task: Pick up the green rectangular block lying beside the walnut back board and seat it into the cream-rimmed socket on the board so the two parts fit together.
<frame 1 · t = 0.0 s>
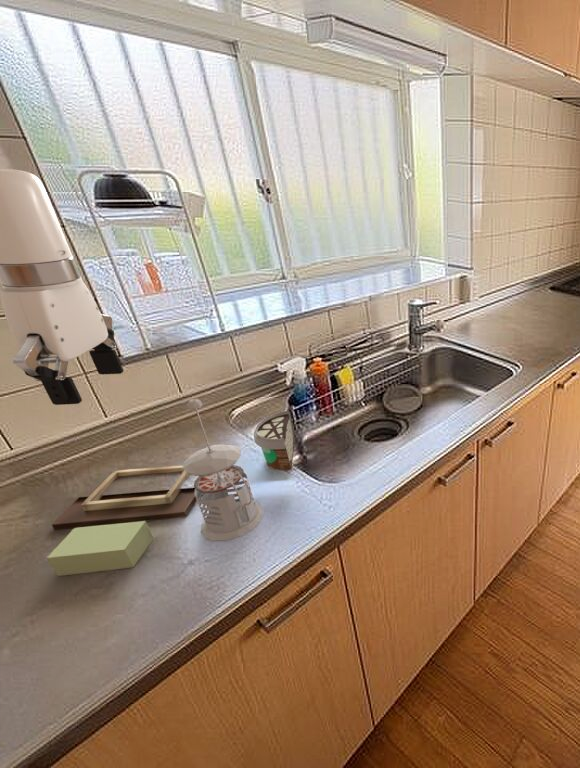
hand: (91, 387, 63), 27 cm above the counter, tool pointing down, fingers open, 9 cm apart
french press: (236, 522, 76), on the counter
food container: (279, 465, 90), on the counter
back board: (145, 494, 80), on the counter
green rectangular block: (108, 556, 68), on the counter
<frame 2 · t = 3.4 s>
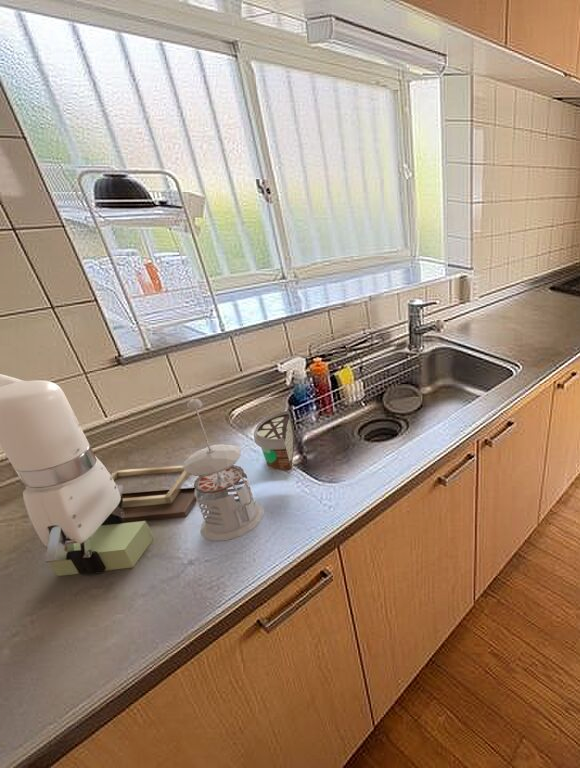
hand: (107, 553, 68), 1 cm above the counter, tool pointing down, fingers closed on green rectangular block, 6 cm apart
green rectangular block: (108, 556, 68), on the counter, touching gripper
everything else where it was.
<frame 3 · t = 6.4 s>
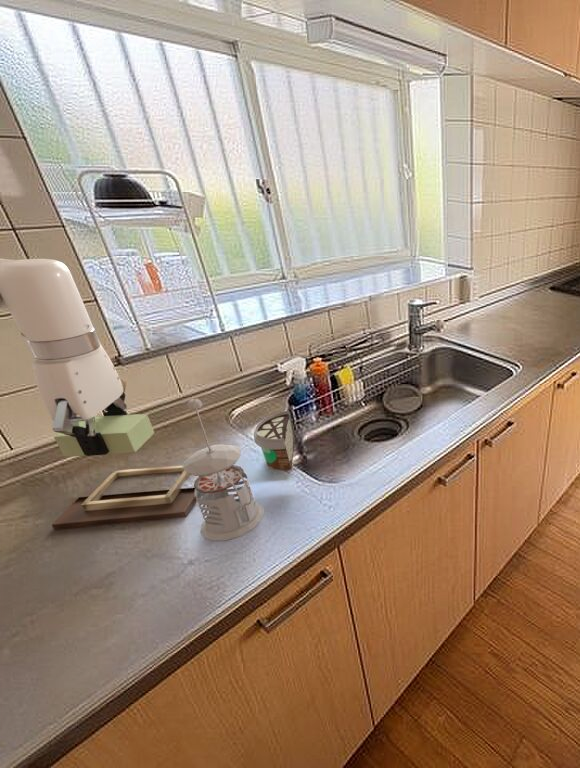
hand: (110, 441, 72), 14 cm above the counter, tool pointing down, fingers closed on green rectangular block, 6 cm apart
green rectangular block: (111, 444, 72), point 14 cm above the counter, touching gripper
everything else where it was.
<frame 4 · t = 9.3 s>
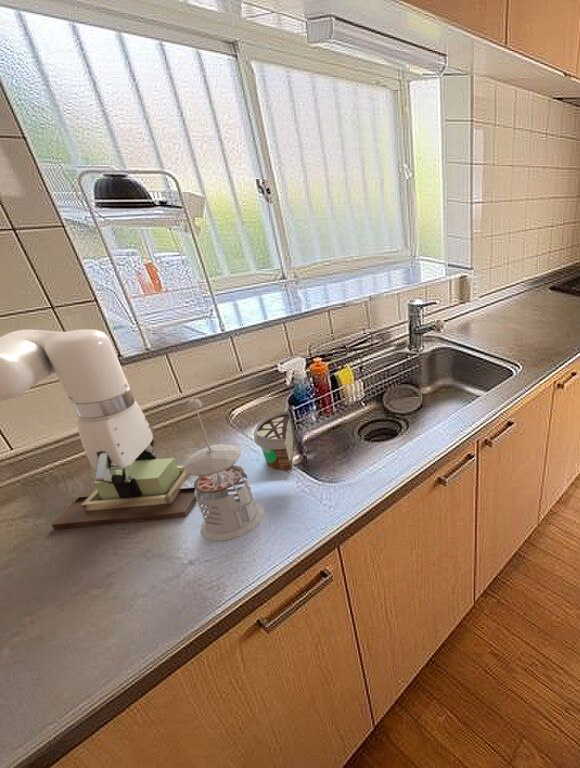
hand: (141, 484, 79), 2 cm above the counter, tool pointing down, fingers closed on green rectangular block, 6 cm apart
green rectangular block: (143, 486, 80), point 2 cm above the counter, touching gripper
everything else where it was.
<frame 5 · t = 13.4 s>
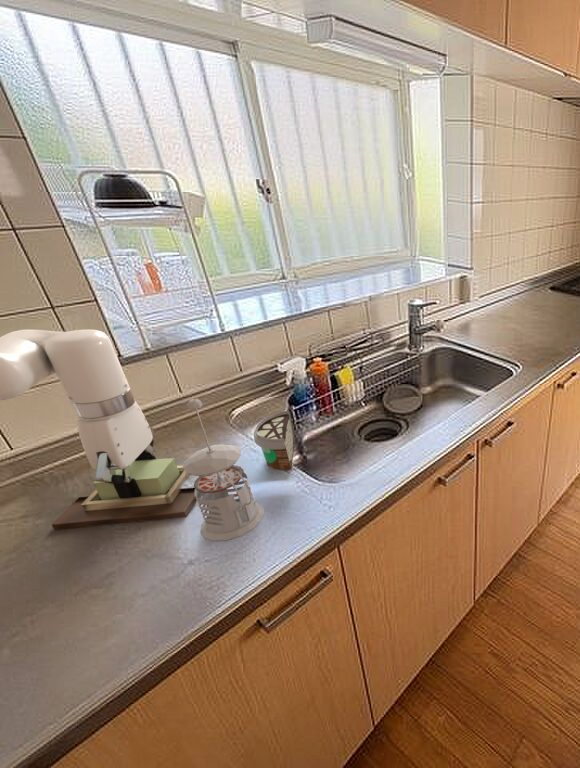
hand: (141, 484, 79), 2 cm above the counter, tool pointing down, fingers closed on green rectangular block, 6 cm apart
green rectangular block: (142, 486, 80), point 2 cm above the counter, touching gripper
everything else where it was.
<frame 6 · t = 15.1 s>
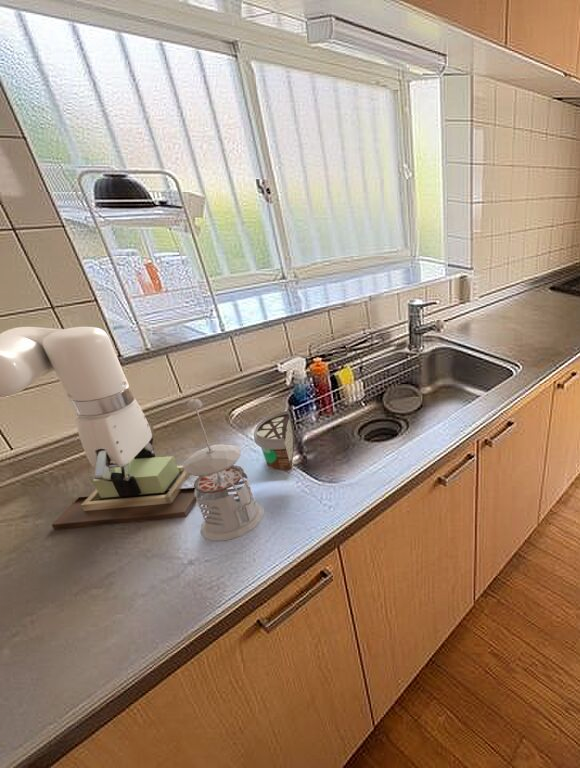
hand: (140, 482, 79), 3 cm above the counter, tool pointing down, fingers closed on green rectangular block, 6 cm apart
green rectangular block: (142, 484, 79), point 2 cm above the counter, touching gripper
everything else where it was.
when the fingers open (3 cm above the counter, at t = 16.7 s): green rectangular block drops 1 cm, resting on back board.
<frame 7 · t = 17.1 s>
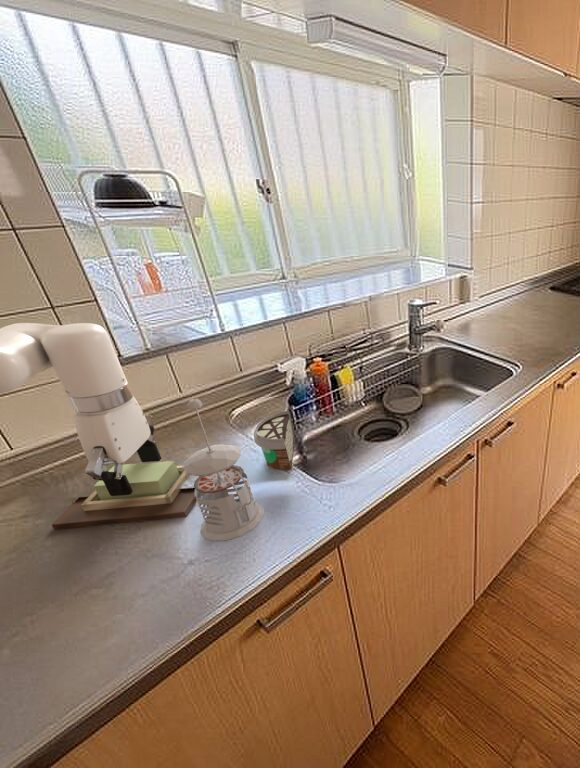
hand: (137, 476, 78), 4 cm above the counter, tool pointing down, fingers open, 9 cm apart
green rectangular block: (142, 489, 80), point 1 cm above the counter, touching back board
everything else where it was.
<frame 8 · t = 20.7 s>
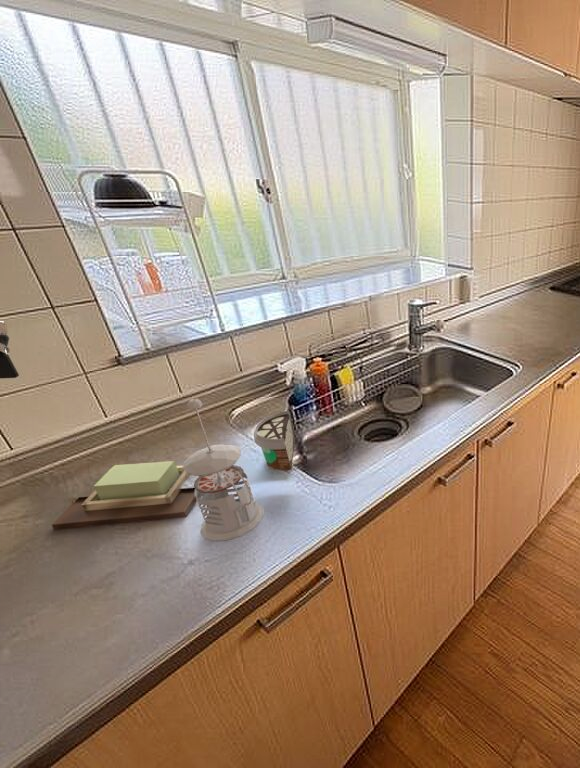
nothing on the counter moved.
at the end: green rectangular block 0.1 cm off-centre on the back board, point 1.2 cm above the back board's base; green rectangular block tilted 0°; the gripper is holding nothing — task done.
